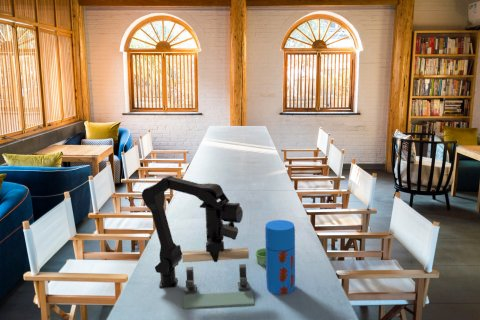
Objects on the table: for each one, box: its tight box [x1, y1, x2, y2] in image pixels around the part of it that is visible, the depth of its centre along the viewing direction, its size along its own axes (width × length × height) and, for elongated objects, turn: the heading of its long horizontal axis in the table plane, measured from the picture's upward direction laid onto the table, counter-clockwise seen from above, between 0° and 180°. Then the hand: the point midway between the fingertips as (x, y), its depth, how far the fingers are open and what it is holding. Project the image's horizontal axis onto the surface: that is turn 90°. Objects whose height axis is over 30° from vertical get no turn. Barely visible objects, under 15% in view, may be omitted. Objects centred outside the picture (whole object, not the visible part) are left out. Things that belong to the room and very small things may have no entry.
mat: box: [182, 290, 255, 310], centre depth 163 cm, size 8×25×1 cm, turn 93°
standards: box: [184, 263, 250, 294], centre depth 170 cm, size 7×24×8 cm, turn 93°
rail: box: [181, 247, 250, 263], centre depth 165 cm, size 3×24×3 cm, turn 94°
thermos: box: [264, 219, 296, 295], centre depth 168 cm, size 11×11×25 cm
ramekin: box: [255, 247, 266, 267], centre depth 192 cm, size 9×9×4 cm
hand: (215, 259), depth 166 cm, fingers closed on rail, 3 cm apart
